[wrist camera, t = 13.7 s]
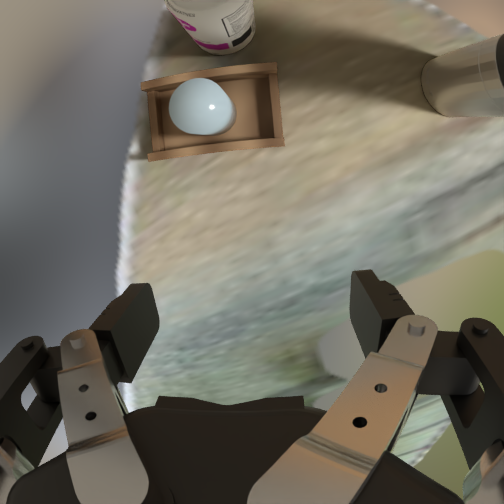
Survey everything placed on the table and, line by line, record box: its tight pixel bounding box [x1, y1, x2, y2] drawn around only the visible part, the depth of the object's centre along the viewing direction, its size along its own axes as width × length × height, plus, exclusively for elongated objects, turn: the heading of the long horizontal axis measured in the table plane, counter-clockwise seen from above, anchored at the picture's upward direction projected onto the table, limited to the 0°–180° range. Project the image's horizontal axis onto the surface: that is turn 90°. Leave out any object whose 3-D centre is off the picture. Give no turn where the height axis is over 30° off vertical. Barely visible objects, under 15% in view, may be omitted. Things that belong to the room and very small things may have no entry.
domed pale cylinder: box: [169, 78, 237, 136], centre depth 31 cm, size 6×6×10 cm
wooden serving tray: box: [141, 62, 285, 162], centre depth 35 cm, size 16×10×5 cm, turn 95°
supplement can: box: [164, 0, 255, 55], centre depth 26 cm, size 8×8×15 cm
